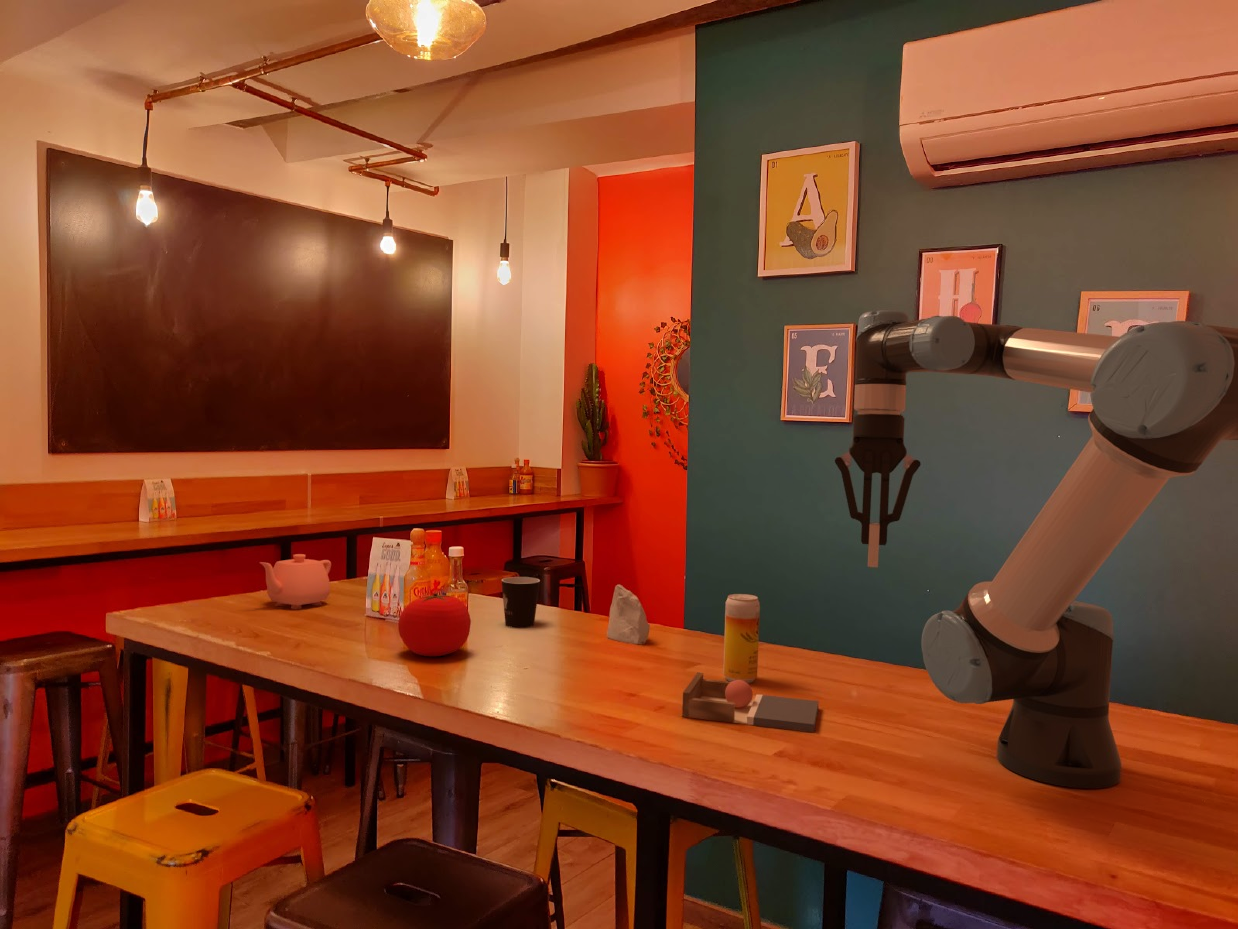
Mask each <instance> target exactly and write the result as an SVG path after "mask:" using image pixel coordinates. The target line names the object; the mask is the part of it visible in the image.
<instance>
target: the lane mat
mask: <svg viewBox="0 0 1238 929" xmlns="http://www.w3.org/2000/svg"><path fill="white" fill-rule="evenodd" d="M700 699H707V700H715V701H724V702H727V700H726V699H724V698H715V697H707V696H701V698H700ZM818 712H819V700H814V699H813V700H812V699H804V698H803V699H801V698H793V697H783V696H776V695H767V694H757V693H756V695H755V697H754V698H753V699H752V700H751V702H750V703H749V704H748V705H747V706H746V707H743V708H735V719H734V723H733V724H741V725H742V724H743V725H749V726H759V727H769V728H775V729H784V730H793V731H800V732H807V733H815V728H816V723H817V722H816V721H817V716H818Z"/></svg>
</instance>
